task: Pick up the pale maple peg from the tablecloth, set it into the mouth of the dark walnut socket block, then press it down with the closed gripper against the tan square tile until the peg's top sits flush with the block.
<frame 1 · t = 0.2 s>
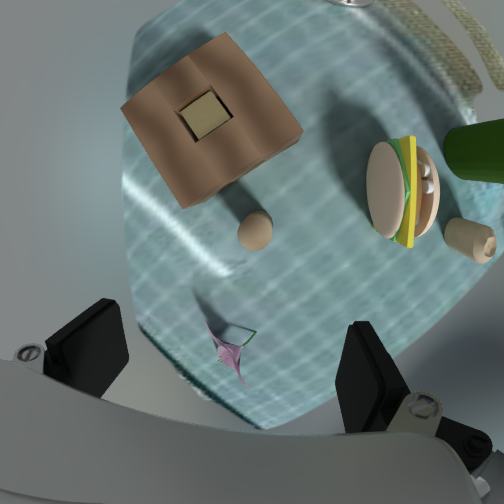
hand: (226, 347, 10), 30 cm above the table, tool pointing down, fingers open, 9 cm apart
hamburger: (385, 187, 36), on the table
socket block: (219, 126, 36), on the table
candle: (454, 232, 36), on the table
lily: (233, 338, 44), on the table
tan square tile: (205, 115, 28), point 7 cm above the table, slide at 0.0 cm
maple peg: (258, 224, 39), on the table
wine bottle: (461, 153, 32), on the table
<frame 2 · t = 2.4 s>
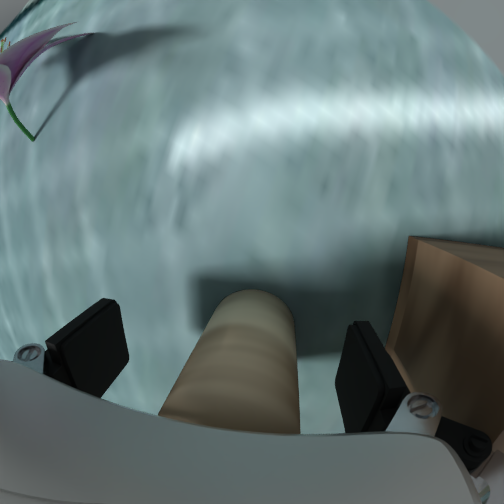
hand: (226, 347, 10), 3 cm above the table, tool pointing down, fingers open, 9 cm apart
socket block: (473, 365, 12), on the table
lily: (51, 81, 11), on the table
maple peg: (252, 327, 13), on the table
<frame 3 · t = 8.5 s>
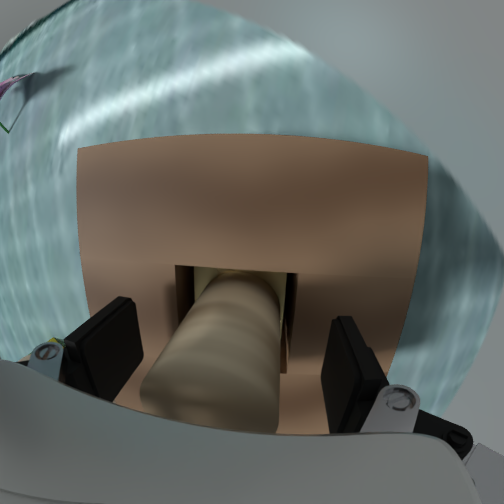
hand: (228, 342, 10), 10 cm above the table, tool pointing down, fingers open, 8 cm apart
socket block: (252, 266, 20), on the table
lily: (17, 100, 19), on the table
tan square tile: (239, 305, 14), point 7 cm above the table, slide at 0.5 cm, touching maple peg
maple peg: (239, 310, 13), point 7 cm above the table, touching tan square tile
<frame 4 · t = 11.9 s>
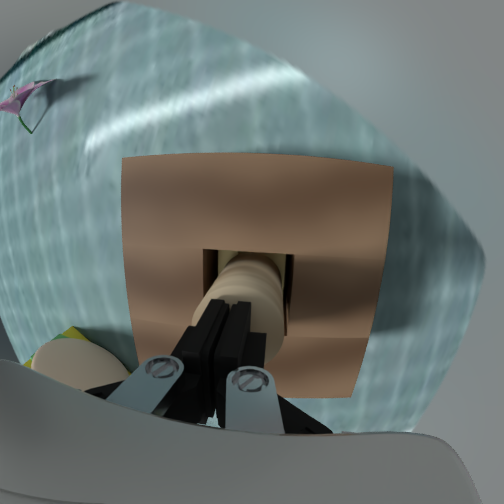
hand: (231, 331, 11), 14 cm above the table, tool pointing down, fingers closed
hamburger: (103, 361, 30), on the table
socket block: (257, 256, 24), on the table
lily: (39, 104, 23), on the table
tan square tile: (251, 278, 19), point 6 cm above the table, slide at 1.4 cm, touching maple peg
maple peg: (251, 281, 18), point 7 cm above the table, touching gripper, tan square tile
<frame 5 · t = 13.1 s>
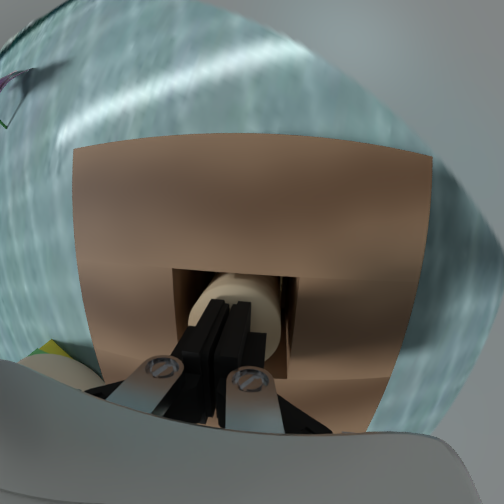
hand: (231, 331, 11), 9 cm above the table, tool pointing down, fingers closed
hamburger: (85, 377, 26), on the table
socket block: (251, 268, 20), on the table
lily: (15, 96, 18), on the table
tan square tile: (249, 275, 18), point 2 cm above the table, slide at 5.8 cm, touching maple peg
maple peg: (249, 278, 18), point 2 cm above the table, touching gripper, tan square tile
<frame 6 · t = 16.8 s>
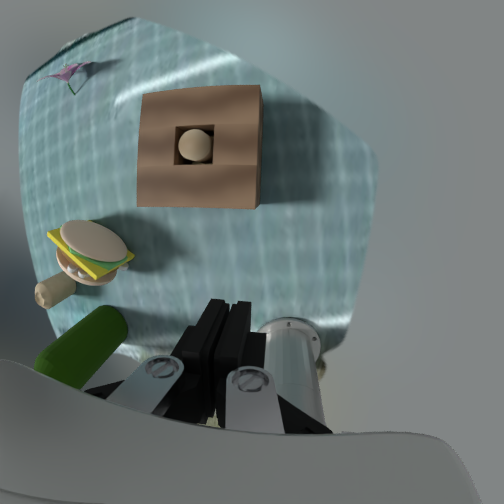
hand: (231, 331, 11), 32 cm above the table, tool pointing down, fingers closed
hamburger: (108, 245, 46), on the table
socket block: (210, 152, 40), on the table
candle: (68, 282, 49), on the table
lily: (80, 77, 38), on the table
tan square tile: (207, 151, 39), point 2 cm above the table, slide at 5.8 cm, touching maple peg
maple peg: (207, 150, 38), point 2 cm above the table, touching tan square tile
wine bottle: (111, 323, 50), on the table
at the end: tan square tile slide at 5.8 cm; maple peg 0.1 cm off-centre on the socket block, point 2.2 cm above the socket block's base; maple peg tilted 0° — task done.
